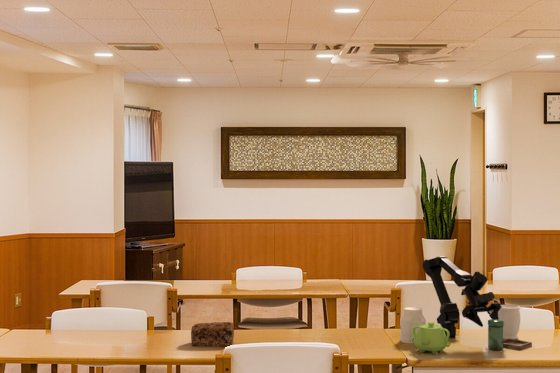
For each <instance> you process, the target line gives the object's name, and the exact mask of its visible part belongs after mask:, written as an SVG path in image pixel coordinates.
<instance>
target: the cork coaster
mask: <svg viewBox="0 0 560 373" xmlns="http://www.w3.org/2000/svg"><path fill="white" fill-rule="evenodd" d="M484 350H485V351H488V352H492V353H493V352H494V353H495V352H496V353H502V352H506V351H507V348H504V347H503V351H491V350H488V347H485V348H484Z"/></svg>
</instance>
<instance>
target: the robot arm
mask: <svg viewBox="0 0 560 373" xmlns="http://www.w3.org/2000/svg"><path fill="white" fill-rule="evenodd" d="M422 269H423V270H424V272H425V274H426V275H427V277H429V278H430V280H431V282H432V284H433V287H434V291H435V293H436V295H437V298H438V301H439V303H440V307H439V315H438V316H437V318H436V323H437V325H439V326H442V327H443V329H447V330H448V331H449V333H450V336H449V339H450V338H455V339H456V336H457V327H456V325H455V324H458V323H459V319H460V316H462V318H466V319H468V320H469V321H471V322H473V323H475V324H476V325H478V326H479V327H481V328H483V327H484V324H483V322H482V320H481V318H480V315H478V313H487V314H488V315H489V318H490V320H491V319H497V320H499V318H498V311H499V310H500V309H501V305H502V304H501V303H500V302H492V301H493V300H494V299H495V293H494V292H493V291H489V292H486V293H482V294H480V293H479V292H480V291H481V290H482V289H483V288H484V286H485V285H486V283H487V282H488V278H487V276H486V275H485V274H482V273H480V271H475V272H474V273H473V275H472V274H471V273H469V272H467V271H465V270H462V269H460V268H459V267H458V266H456V264H454V263H453V262H452V261H451V260H450V259H449V258H448V256H446V255H441V256H439V255H438V256H436V257H433V258H430V259H429V258H427V259H424V260H423V262H422ZM442 270H444V271H445V272H447V274H448V275H450V276H451V277H452V278H453V279H452V280H453V282H454V283H455V285H456V286H457V287H458V288H462V287H464V288H462V289H461V296H465V298H467V300H468V302H467V304H468V305H465V307H464V308H463V309H462V310H461V313H460V309H459V307H458V304H457V303H456V302H452V301H451V298H450V295H449V293H448V290H447V287H446V284H445V282H444V280H443V276H442ZM489 302H491V303H490V304H489ZM488 305H489V306H488ZM444 332H445V334H446V337H447V332H446V331H444Z"/></svg>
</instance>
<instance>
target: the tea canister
mask: <svg viewBox="0 0 560 373" xmlns="http://www.w3.org/2000/svg"><path fill="white" fill-rule="evenodd" d="M503 326H504V321H503V320H497V319H491V318H490V319H487V329H488V330H487V334H488V335H487V337H488V338H487V348H488V350H491V351H490V352H493V351H503V348H504V347H503V340H504V339H503Z"/></svg>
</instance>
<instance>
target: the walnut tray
mask: <svg viewBox="0 0 560 373" xmlns="http://www.w3.org/2000/svg"><path fill="white" fill-rule="evenodd" d="M532 346H533V342H532V341H525V340H521V339H520V340H519V339H503V348H504V349H512V350H516V351H521V350H524V349H528V348H530V347H531V348H532Z"/></svg>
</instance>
